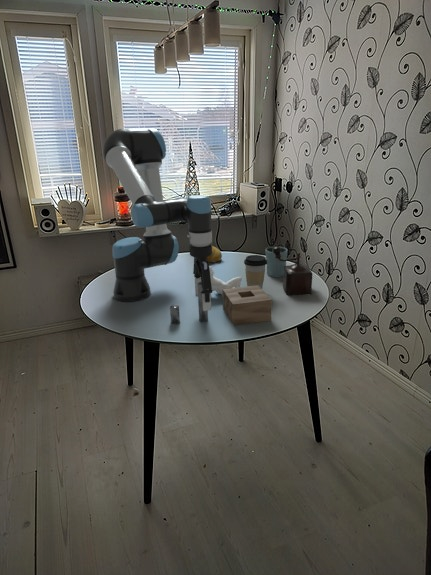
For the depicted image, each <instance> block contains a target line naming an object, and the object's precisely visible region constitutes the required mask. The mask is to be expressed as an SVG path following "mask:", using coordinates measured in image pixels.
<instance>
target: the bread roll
mask: <svg viewBox="0 0 431 575" xmlns="http://www.w3.org/2000/svg"><path fill="white" fill-rule="evenodd" d="M222 257H223V255H222V252H221V250H220V249H219V248H218V247H215V246H213V245H212V255H211V256H208V257H207V258H206V260H207V261H208V263H217V262H220V261H221V259H222Z"/></svg>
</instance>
